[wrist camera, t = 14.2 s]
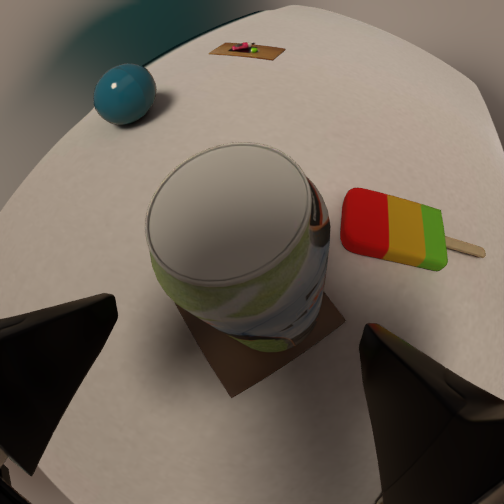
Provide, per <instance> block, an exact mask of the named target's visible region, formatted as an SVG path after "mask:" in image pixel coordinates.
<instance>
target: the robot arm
mask: <svg viewBox="0 0 504 504" xmlns="http://www.w3.org/2000/svg"><path fill="white" fill-rule="evenodd" d="M117 319H118V311H117V306H116V300H115V297H114V295H112V294H108V293H102V294H98V295H95V296H91V297H87V298H83V299H79V300H75V301H72V302H68V303H64V304H60V305H56V306H52V307H49V308H45V309H41V310H37V311H33V312H30V313H25V314H21V315H17V316H13V317H9V318H4V319H0V504H32V503H31V502H29V501H28V500H27V499H26V498H24V497H23V496H22V495H21V494H19V493H18V492H17V491H16V490H15V489H14V488H12V486H11V481H10V475H9V469H8V468H7V467H6V466H5V465H4V464H3V463H4V462H5V461H6V459H7V458H9V459H10V460H12V461H13V462H14V463H15V464H17V466H19V467H20V468H21V469H23V470H24V471H25V472H26V473H27V474H29V475H30V476H32V475H33V474H34V472H35V469H36V467H37V465H38V463H39V461H40V459H41V457H42V455H43V453H44V451H45V449H46V447H47V445H48V443H49V441H50V439H51V437H52V435H53V433H54V431H55V429H56V427H57V425H58V423H59V421H60V420H61V418H62V416H63V414H64V412H65V411H66V409H67V407H68V405H69V403H70V402H71V400H72V398H73V396H74V395H75V393H76V391H77V390H78V388H79V386H80V384H81V383H82V381H83V379H84V378H85V376H86V375H87V373H88V371H89V370H90V368H91V366H92V365H93V363H94V362H95V360H96V358H97V357H98V355H99V354H100V352H101V350H102V349H103V347H104V345H105V343H106V341H107V339H108V337H109V335H110V333H111V331H112V329H113V327H114V325H115V323H116V321H117ZM359 354H360V362H361V371H362V380H363V387H364V392H365V396H366V401H367V406H368V410H369V415H370V420H371V425H372V431H373V436H374V442H375V447H376V453H377V459H378V466H379V473H380V480H381V488H382V493H383V494H382V497H383V504H504V400H502V399H500V398H498V397H496V396H494V395H492V394H490V393H489V392H487V391H485V390H483V389H481V388H479V387H477V386H476V385H474V384H472V383H470V382H469V381H467V380H465V379H463V378H462V377H460V376H459V375H457V374H455V373H454V372H452V371H451V370H449V369H448V368H446V369H445V367H444V366H443V365H441V364H440V363H438V362H437V361H435V360H433V359H432V358H430V357H429V356H427V355H426V354H424V353H423V352H421V351H419V350H418V349H416V348H415V347H413V346H412V345H410V344H409V343H407V342H405V341H404V340H402V339H401V338H399V337H398V336H396V335H395V334H393V333H391V332H390V331H388V330H387V329H385V328H384V327H382V326H380V325H379V324H376V323H368V324H366V325H365V327H364V330H363V334H362V337H361V340H360V344H359Z"/></svg>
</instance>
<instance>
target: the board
mask: <svg viewBox="0 0 504 504" xmlns="http://www.w3.org/2000/svg"><path fill="white" fill-rule="evenodd" d="M254 44H255V43H249V42H248V43H247V42H245V43H241V44H240V43H224V44H223V45H221V46H219V47H218V48H216V49H214V50H213V51H211V52H210V53H209V54H217V55H231V56H242V57H251V58H259V59H267V60H274V59H275V58H276V57H277V56H279V55H280V54H281V53H282V52H283V51H285V50H286V49H283V48H277V47H269V46H261V45H254Z"/></svg>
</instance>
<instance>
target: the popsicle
mask: <svg viewBox="0 0 504 504" xmlns="http://www.w3.org/2000/svg"><path fill="white" fill-rule="evenodd" d="M340 237H341V242H342V245H343V246H344V247H345V249H347V250H348V251H350V252H353V253H356V254H360V255H365V256H370V257H374V258H379V259H384V260H388V261H393V262H397V263H402V264H406V265H411V266H415V267H420V268H424V269H429V270H433V271H440V270H441V269H443V268H444V267H445V266H446V265H447V262H448V258H447V249H446V248H450V249H453V250H457V251H460V252H464V253H467V254H471V255H474V256H477V257H481V258H484V257H485V256H486V253H485V250H484V248H482V247H479V246H476V245H473V244H470V243H467V242H463V241H460V240H457V239H453V238H450V237H447V236H445V233H444V226H443V220H442V214H441V210H439V209H436V208H432V207H429V206H426V205H423V204H419V203H416V202H413V201H409V200H406V199H402V198H398V197H395V196H391V195H387V194H383V193H380V192H376V191H372V190H368V189H363V188H353V189H351V190H349V191H348V193H347V194H346V196H345V198H344V202H343V206H342V218H341V231H340Z"/></svg>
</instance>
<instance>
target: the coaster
mask: <svg viewBox="0 0 504 504" xmlns="http://www.w3.org/2000/svg"><path fill="white" fill-rule="evenodd" d="M175 304H176V303H175ZM176 306H177V308H178V310H179V311H180V313H181V315H182V317H183V319H184V321H185V322H186V324H187V326H188V328H189V330H190V331H191V333H192V335H193V337H194V338H195V340H196V342H197V344H198V345H199V347H200V349H201V350H202V352H203V354H204V355H205V357H206V359H207V360H208V362H209V364H210V365H211V367H212V369H213V370H214V372H215V373H216V375H217V377H218V378H219V380H220V381H221V383H222V384H223V386H224V387H225V389H226V391H227V392H228V394H229V395H230V397H231V398H232V397H234V396H236V395H238V394H239V393H241V392H243V391H244V390H246V389H248V388H250V387H251V386H253V385H254V384H256V383H258V382H259V381H261V380H263V379H264V378H266V377H267V376H269V375H271V374H272V373H274V372H275V371H277V370H278V369H280V368H281V367H283V366H284V365H286V364H287V363H289V362H290V361H292V360H293V359H295V358H296V357H298V356H299V355H301V354H302V353H304V352H305V351H306V350H308V349H309V348H311V347H312V346H313V345H315V344H316V343H318V342H319V341H320V340H322V339H323V338H324V337H326V336H327V335H328V334H330V333H331V332H332V331H334V330H335V329H336V328H338V327H339V326H340V325H342V324H343V323H344V322H345V321H346V320H345V319H344V317H343V316H342V315H341V313H340V312H339V311H338V310H337V308H336V307H335V306H334V304H333V303H332V302H331V300H330V299H329V298H328V296H327V295H326V294H325V292H324V291H323V296H322V302H321V308H320V314H319V317H318V321H317V323H316V325H315V327H314V329H313V330H312V331H311V333H310V334H309V335H308V336H307V337H306V338H305V339H304V340H303V341H302V342H301V343H299V344H298V345H296V346H294V347H292V348H290V349H287V350H284V351H279V352H262V351H258V350H255V349H252V348H250V347H248V346H246V345H244V344H243V343H241V342H239V341H237V340H235V339H234V338H232V337H230V336H228V335H227V334H225V333H223V332H221V331H220V330H218V329H216V328H215V327H213V326H211V325H209V324H208V323H206V322H204V321H203V320H201V319H199V318H198V317H196V316H195V315H193V314H191V313H190V312H188V311H187V310H185V309H183V308H182V307H180V306H179V305H177V304H176Z"/></svg>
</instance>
